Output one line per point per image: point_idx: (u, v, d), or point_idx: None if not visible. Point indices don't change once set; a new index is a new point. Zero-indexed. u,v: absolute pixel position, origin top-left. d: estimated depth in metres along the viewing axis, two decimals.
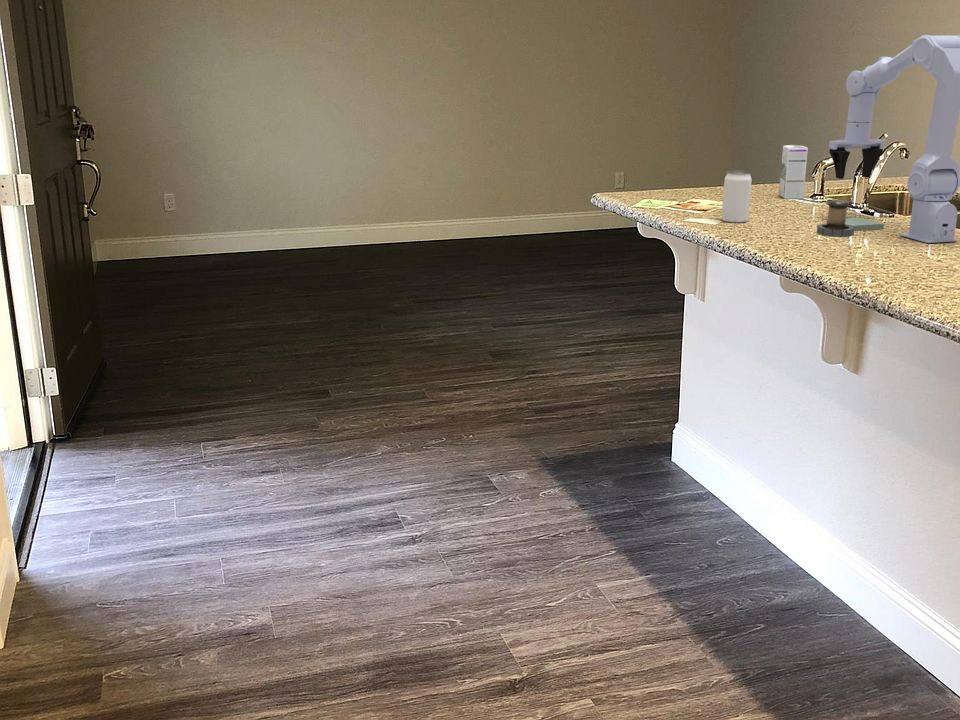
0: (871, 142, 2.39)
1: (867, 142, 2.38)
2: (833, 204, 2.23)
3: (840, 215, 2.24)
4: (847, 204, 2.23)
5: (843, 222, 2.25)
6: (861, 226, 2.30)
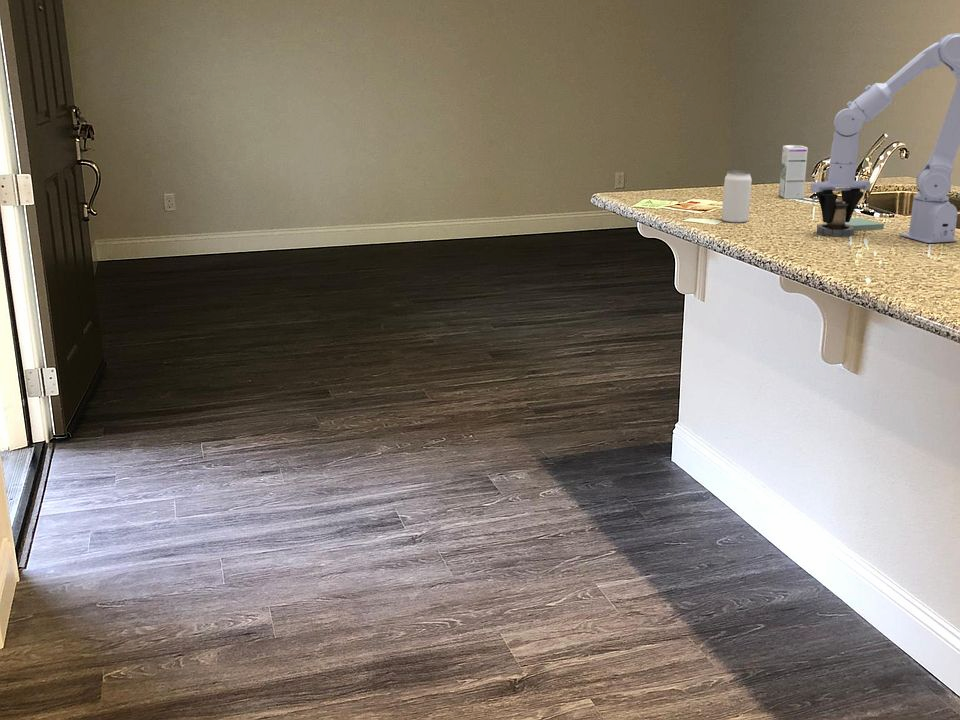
0: (856, 185, 2.22)
1: (851, 184, 2.21)
2: None
3: (840, 215, 2.24)
4: (847, 204, 2.23)
5: (843, 222, 2.25)
6: (861, 226, 2.30)
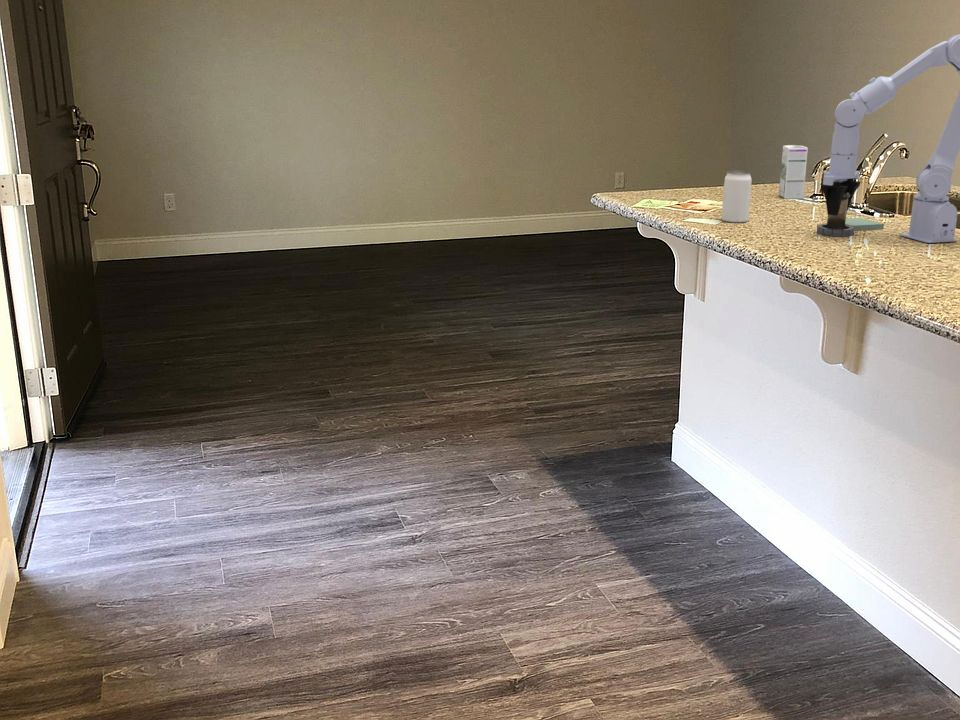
0: (856, 175, 2.23)
1: (855, 175, 2.21)
2: None
3: (845, 206, 2.23)
4: (849, 195, 2.24)
5: (846, 213, 2.25)
6: (861, 226, 2.30)
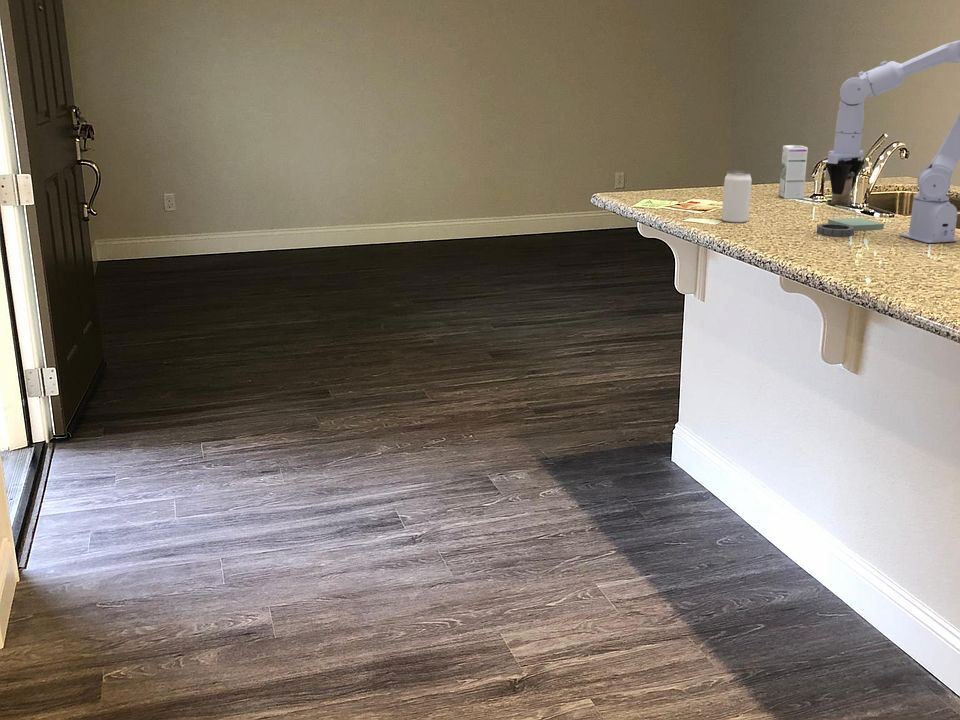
0: None
1: (860, 154, 2.21)
2: None
3: (850, 185, 2.23)
4: (854, 174, 2.23)
5: (850, 192, 2.24)
6: (861, 226, 2.30)
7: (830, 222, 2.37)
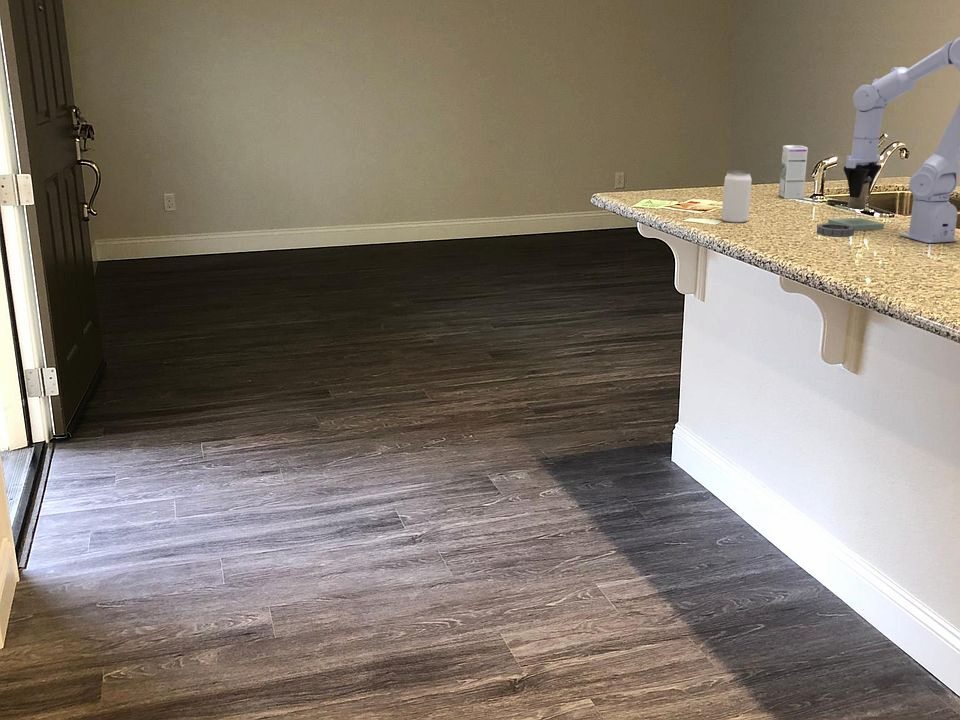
0: (877, 158, 2.30)
1: (877, 159, 2.29)
2: None
3: (866, 189, 2.31)
4: None
5: None
6: (861, 226, 2.30)
7: (830, 222, 2.37)
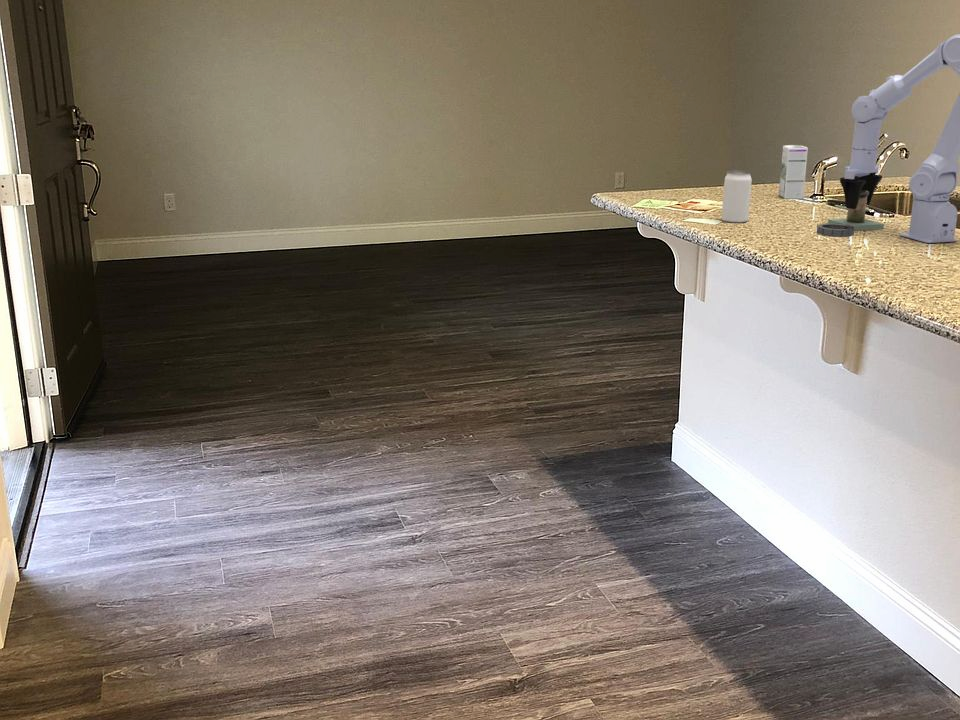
0: (876, 169, 2.31)
1: (875, 169, 2.30)
2: None
3: (864, 203, 2.32)
4: None
5: (865, 210, 2.33)
6: (861, 226, 2.30)
7: (830, 222, 2.37)
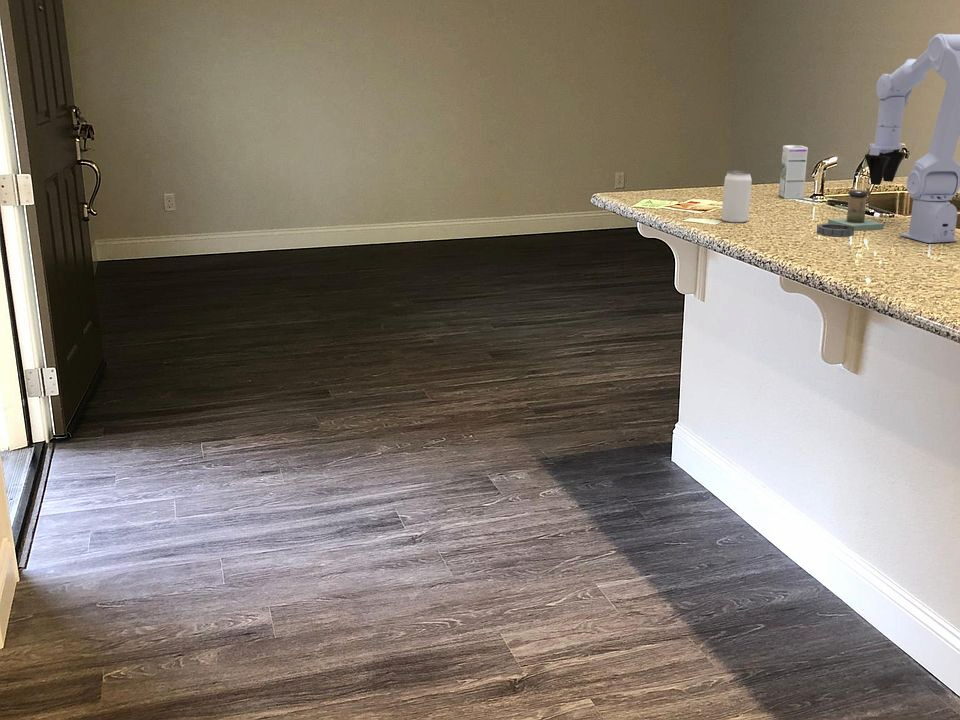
0: None
1: (900, 146, 2.35)
2: (858, 194, 2.30)
3: (864, 203, 2.32)
4: (868, 192, 2.32)
5: None
6: (861, 226, 2.30)
7: (830, 222, 2.37)
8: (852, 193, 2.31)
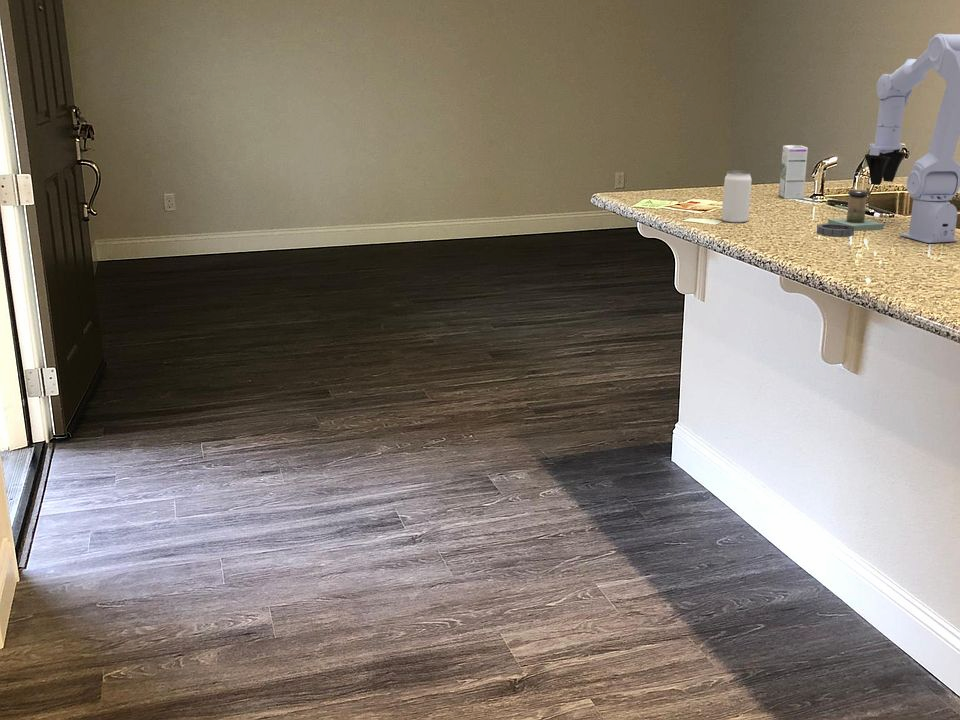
0: (900, 146, 2.37)
1: (900, 146, 2.35)
2: (858, 194, 2.30)
3: (864, 203, 2.32)
4: (868, 192, 2.32)
5: None
6: (861, 226, 2.30)
7: (830, 222, 2.37)
8: (852, 193, 2.31)
